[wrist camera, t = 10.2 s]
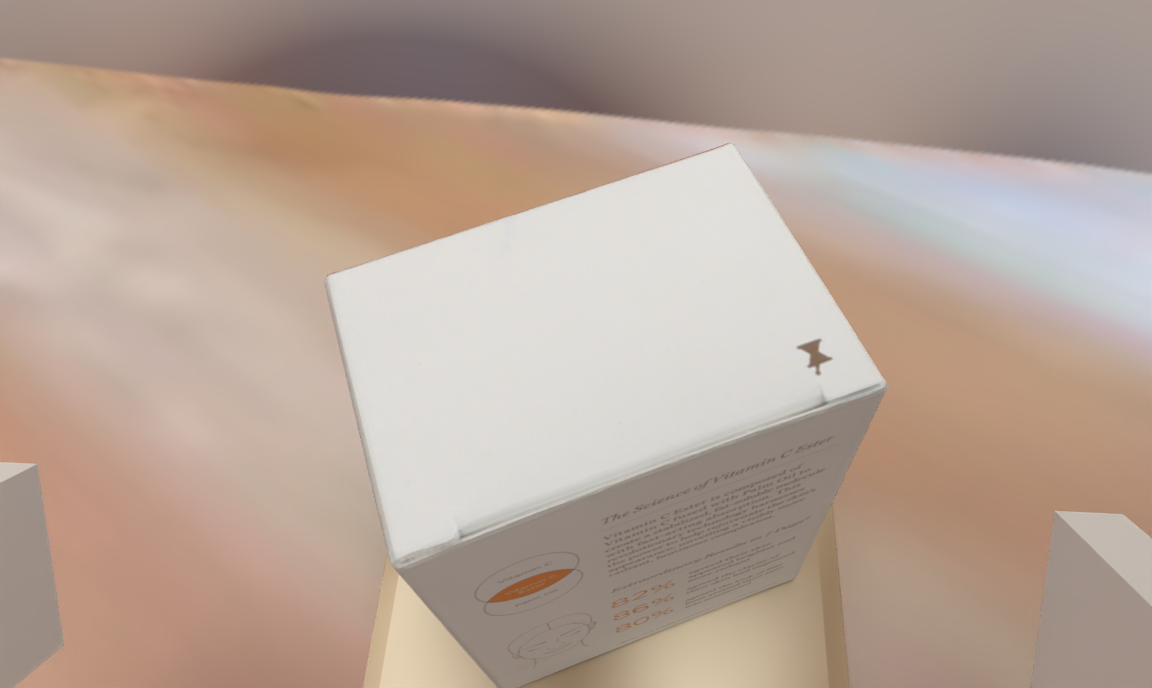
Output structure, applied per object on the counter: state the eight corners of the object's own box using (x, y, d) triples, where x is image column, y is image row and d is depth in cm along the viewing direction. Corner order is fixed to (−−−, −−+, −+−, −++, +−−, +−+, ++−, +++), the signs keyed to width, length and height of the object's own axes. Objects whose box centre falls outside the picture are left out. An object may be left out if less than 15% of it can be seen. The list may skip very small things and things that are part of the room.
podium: (805, 390, 28) (821, 341, 26) (840, 810, 22) (866, 801, 19) (440, 381, 29) (420, 333, 27) (374, 779, 23) (340, 767, 20)
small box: (709, 401, 25) (743, 129, 16) (800, 584, 22) (907, 380, 13) (438, 496, 24) (312, 264, 15) (496, 701, 21) (384, 567, 12)
